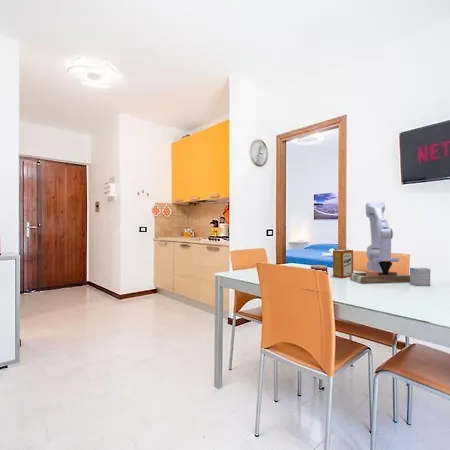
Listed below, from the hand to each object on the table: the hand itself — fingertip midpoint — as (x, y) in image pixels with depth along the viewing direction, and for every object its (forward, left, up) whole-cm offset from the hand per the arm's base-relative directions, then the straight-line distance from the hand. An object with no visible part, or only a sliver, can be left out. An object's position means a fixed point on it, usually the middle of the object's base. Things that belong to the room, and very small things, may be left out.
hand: (385, 275), depth 168 cm
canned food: (+13, -43, -3) cm, 45 cm away
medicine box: (+13, +10, -3) cm, 17 cm away
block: (0, -8, -1) cm, 8 cm away
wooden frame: (0, -3, -3) cm, 4 cm away
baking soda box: (-15, -17, -3) cm, 23 cm away
